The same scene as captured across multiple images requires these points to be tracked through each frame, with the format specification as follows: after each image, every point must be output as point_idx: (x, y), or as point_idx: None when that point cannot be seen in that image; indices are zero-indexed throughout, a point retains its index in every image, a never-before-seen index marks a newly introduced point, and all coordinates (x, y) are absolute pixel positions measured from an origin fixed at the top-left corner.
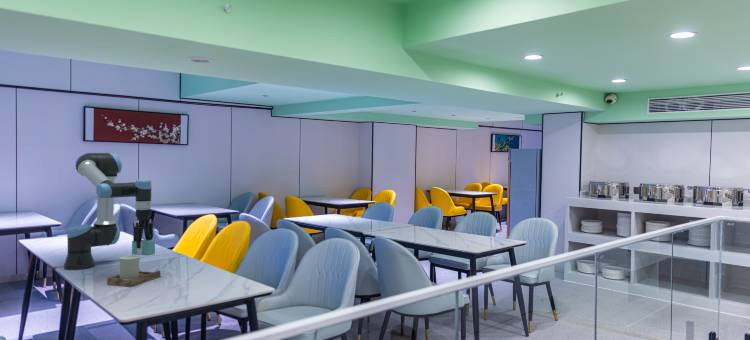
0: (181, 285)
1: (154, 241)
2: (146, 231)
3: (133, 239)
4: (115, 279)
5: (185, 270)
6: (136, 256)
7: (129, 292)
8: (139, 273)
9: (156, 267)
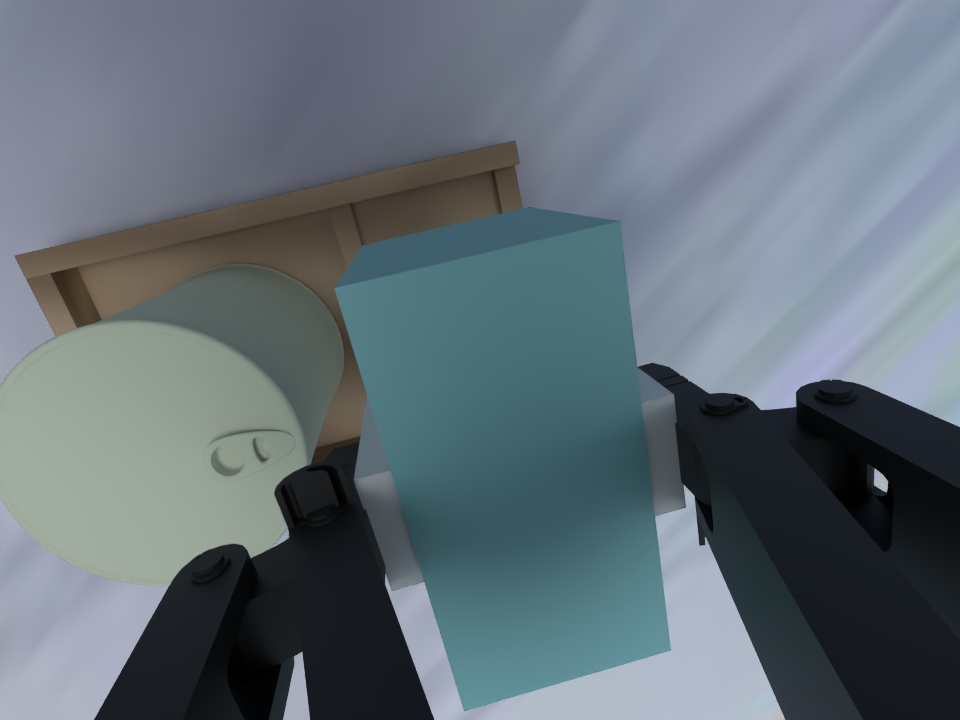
0: (437, 701)
1: (647, 641)
2: (787, 670)
3: (166, 598)
4: None
5: (812, 378)
6: (278, 475)
7: (73, 613)
8: (485, 200)
9: (833, 25)
